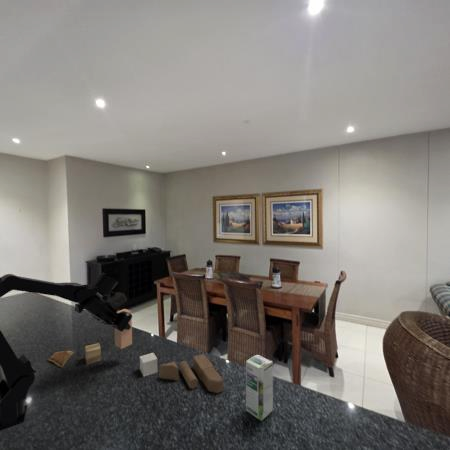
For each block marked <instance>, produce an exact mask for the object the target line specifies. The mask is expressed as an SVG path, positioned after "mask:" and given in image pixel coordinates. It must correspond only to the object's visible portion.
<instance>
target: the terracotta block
mask: <svg viewBox="0 0 450 450" xmlns="http://www.w3.org/2000/svg"><path fill="white" fill-rule="evenodd" d="M122 311H125V312H128V313H130V314H131V315H132V310H131V309H130V310H129V309H126V308H123V309H121V310H120V309H119V310H118V312H116V313H120V312H122ZM132 316H133V315H132ZM132 319H133V317H132V318H131V320H130V321H129V325H130V326H131V328H130V329H129V330H126V329H124V330H123V331H122V332H121V331H119V330H117V329H115V328H114V346H115V347H117V348H119V349H121V350H122V349H124V348H126V347H129V346H130V345H132V344H133V322H132ZM114 320H115V319H114Z"/></svg>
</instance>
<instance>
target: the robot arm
mask: <svg viewBox="0 0 450 450" xmlns="http://www.w3.org/2000/svg"><path fill="white" fill-rule="evenodd" d="M118 284H119V282H118V280H117V279H115V278H113V277H111V276H109V275H108V274H106V273H104V272H100V274H99V276H98V278H97V279H96V280H95V281H94V282H93V283H92V284H81V283H78V282H54V281H53V282H52V281H46V280H40V279H36V278H30V277H25V276H18V275H15V274H13V273H8V274H4V275H2V276H1V277H0V298H2V297H4V296H5V295H7V294H8V293H10V292H11V291H17V292H19V291H20V292H25V293H32V294H33V293H34V294H39V295H40V294H41V295H47V296H54V297H57V298H60V299H63V300H67V301H69V302H73V303H75V304H74V311H75V312H76V313H78V314H82V312H83V311H84V310H85V311H87V312H88V313H89V314H90V315H91V316H92V319H93V320H95V321H97V322H99V323H100V322H101V323H102V324H104V325H107V326H109V325H110V326H112V328H113V329H114V330H115V329H117V330H119V331H121V332H122V331H123V330H124V329H126V330H129V329H130V328H131V326H130V325H129V321H130V320H131V318H132V319H133V315H131V314H130V313H128V312H125V311H122V312H120V313H116V312H118V311H120V307H121V306H122V305H124V303H127V301H128V299H127V297H126V296H125V293H123V292H120V291H119V292H117V291H116V292H113V289H114V288H115V287H116V286H117V285H118ZM104 296H105V297H107V300H105V299H102V298H103V297H104ZM101 297H102V298H101ZM114 319H115V320H114ZM36 372H37V370H36V369H35V368H34V367H33V366H32V363H31V361H30V360H29V359H28V357H26V356H25V354H22V355H20V357H18V356H17V355H16V353H15V351H14V349H13V348H12V347H11V345H10V343H9V342H8V340H7V339H6V337H5V336H4V334H3V332H2V330H1V329H0V373H1V378H2V379H1V380H0V430H2V429H5V428H8V427H11V426H14V425H16V424H19V423H22V422H24V421H25V420H26V416H27V412H28V405H25V399H27V396H28V392H29V390H30V388H31V387H32V385H33V384H34V382H35V379H36V376H35V373H36Z"/></svg>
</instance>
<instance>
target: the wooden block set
mask: <svg viewBox="0 0 450 450" xmlns="http://www.w3.org/2000/svg"><path fill="white" fill-rule="evenodd" d="M158 367H159V368H158V374H159V375H158V376H159V378H160V379H163V380H169V381H176V382H179V371H180V373H181V376H182V377H183V378H184V380H185V382H186V384H187V386H188V387H189V389H195V388H197V387H198V386H199V379H200V381H201V382H202V383H203V385H204V386H205V387H206V389H207V390H208V392H211V393H215V394H219V393H222V392H223V391H224V379H223V377H222V376H220V374H219V373H218V371H217V370H216V369H215V367H214V365H213V364H212V362H211V361H210V360H209V359H208V357H207V356H206V355H205V353H202V354H198V355H195V356H193V357H192V369H193V370H194V371H193V370H192V369H191V367H190V365H189V364H188V362H187V361H186V360H182V361H180V362H179V364H178V365H177V364H176V361H170V362H167V363H164V364H160V365H158ZM195 374H196V375H197V376H198V378H199V379H197V377H196V375H195Z"/></svg>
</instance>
